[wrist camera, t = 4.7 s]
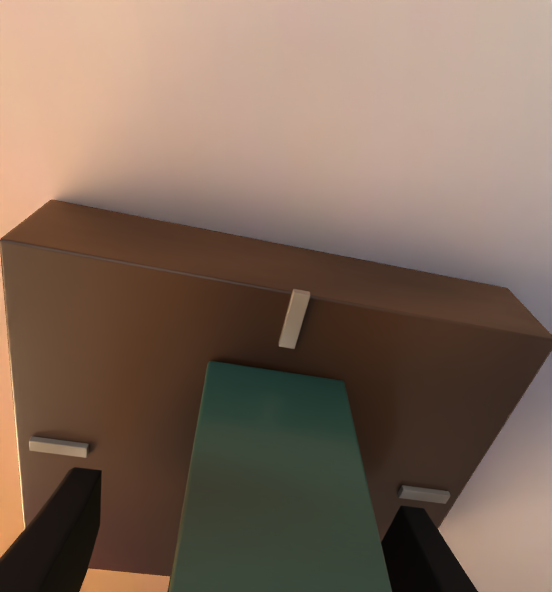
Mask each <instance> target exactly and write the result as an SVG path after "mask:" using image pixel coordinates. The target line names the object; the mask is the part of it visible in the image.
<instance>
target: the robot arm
mask: <svg viewBox="0 0 552 592" xmlns="http://www.w3.org/2000/svg"><path fill="white" fill-rule="evenodd" d="M101 477H102V470H95V469H87V468H78V467H73V468H72V469H70V470H69V471H68V472H67V474H66V475H65V477H64V478H63V480H62V481H61V482H60V484H59V485H58V487H57V488H56V489H55V491H54V492H53V494H52V495H51V496H50V498H49V499H48V500H47V502H46V503H45V504H44V506H43V507H42V508H41V509H40V511H39V512H38V513H37V514H36V516H35V517H34V518H33V520H32V521H31V522H30V523H29V525H28V526H27V527H26V528H25V530H24V531H23V532H22V533H21V534H20V535H19V537H18V538H17V539H16V540H15V541H14V543H13V544H12V545H11V546H10V547H9V549H8V550H7V551H6V552H5V553H4V555H3V556H2V557H1V558H0V592H79V591H80V588H81V586H82V583H83V581H84V578H85V575H86V573H87V569H88V566H89V562H90V559H91V556H92V552H93V549H94V545H95V542H96V538H97V535H98V531H99V528H100V514H101ZM381 545H382V550H383V554H384V559H385V563H386V567H387V572H388V576H389V581H390V585H391V589H392V592H478V591H477V589H476V588H475V586H474V585H473V583H472V582H471V580H470V579H469V577H468V576H467V574H466V573H465V571H464V570H463V568H462V567H461V565H460V564H459V562H458V560H457V559H456V557H455V556H454V554H453V553H452V551H451V550H450V548H449V546H448V545H447V543H446V542H445V540H444V539H443V537H442V535H441V534H440V532H439V531H438V529H437V528H436V526H435V524H434V523H433V521H432V520H431V518H430V517H429V515H428V514H427V512H426V511H425V509H424V508H418V507H409V506H400V508H399V510H398V511H397V513H396V515H395V517H394V519H393V521H392V523H391V525H390V527H389V528H388V530H387V532H386V534H385V536H384V538H383V540H382V542H381Z"/></svg>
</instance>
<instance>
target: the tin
mask: <svg viewBox="0 0 552 592" xmlns="http://www.w3.org/2000/svg"><path fill="white" fill-rule="evenodd" d="M168 592H392V589H391V585H390V581H389V576H388V572H387V567H386V563H385V559H384V554H383V550H382V545H381V541H380V537H379V532H378V528H377V523H376V519H375V514H374V510H373V506H372V501H371V497H370V492H369V488H368V484H367V479H366V475H365V470H364V466H363V462H362V457H361V453H360V448H359V444H358V439H357V435H356V431H355V426H354V422H353V417H352V413H351V409H350V404H349V400H348V395H347V391H346V387H345V382H344V381H342V380H336V379H329V378H322V377H316V376H309V375H302V374H296V373H289V372H283V371H276V370H269V369H263V368H256V367H249V366H243V365H236V364H230V363H223V362H216V361H209V363H208V364H207V369H206V375H205V381H204V387H203V392H202V398H201V404H200V410H199V415H198V421H197V427H196V433H195V438H194V444H193V450H192V455H191V461H190V467H189V473H188V478H187V484H186V490H185V496H184V501H183V507H182V513H181V519H180V524H179V530H178V536H177V542H176V547H175V553H174V559H173V565H172V570H171V576H170V582H169V588H168Z"/></svg>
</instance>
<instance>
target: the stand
mask: <svg viewBox="0 0 552 592" xmlns="http://www.w3.org/2000/svg"><path fill="white" fill-rule="evenodd" d="M0 253H1V265H2V276H3V288H4V300H5V311H6V323H7V335H8V346H9V358H10V369H11V381H12V393H13V404H14V416H15V428H16V439H17V451H18V462H19V474H20V486H21V497H22V509H23V520H24V530H25V528H26V527H27V526H28V525H29V523H30V522H31V521H32V520H33V518H34V517H35V516H36V514H37V513H38V512H39V511H40V509H41V508H42V507H43V506H44V504H45V503H46V502H47V500H48V499H49V498H50V496H51V495H52V494H53V492H54V491H55V489H56V488H57V487H58V485H59V484H60V482H61V481H62V480H63V478H64V477H65V475H66V474H67V472H68V471H69V470H70V469H72V468H73V467H78V468H87V469H95V470H102V477H101V514H100V528H99V531H98V535H97V538H96V542H95V545H94V549H93V552H92V556H91V559H90V562H89V566H88V568H91V569H101V570H111V571H121V572H131V573H141V574H151V575H162V576H171V570H172V565H173V559H174V553H175V547H176V542H177V536H178V530H179V524H180V519H181V513H182V507H183V501H184V496H185V490H186V484H187V478H188V473H189V467H190V461H191V455H192V450H193V444H194V438H195V433H196V427H197V421H198V415H199V410H200V404H201V398H202V392H203V387H204V381H205V375H206V369H207V364H208V363H209V361H216V362H223V363H230V364H236V365H243V366H249V367H256V368H263V369H269V370H276V371H283V372H289V373H296V374H302V375H309V376H316V377H322V378H329V379H336V380H342V381H344V382H345V387H346V391H347V395H348V400H349V404H350V409H351V413H352V417H353V422H354V426H355V431H356V435H357V439H358V444H359V448H360V453H361V457H362V462H363V466H364V470H365V475H366V479H367V484H368V488H369V492H370V497H371V501H372V506H373V510H374V514H375V519H376V523H377V528H378V532H379V537H380V541H381V542H382V540H383V538H384V536H385V534H386V532H387V530H388V528H389V527H390V525H391V523H392V521H393V519H394V517H395V515H396V513H397V511H398V510H399V508H400V506H409V507H418V508H424V509H425V511H426V512H427V514H428V515H429V517H430V518H431V520H432V521H433V523H434V524H435V526H436V528H437V529H438V528H439V526H440V524H441V523H442V521H443V520H444V518H445V517H446V515H447V513H448V512H449V510H450V509H451V507H452V506H453V504H454V502H455V501H456V499H457V498H458V496H459V495H460V493H461V492H462V490H463V488H464V487H465V485H466V484H467V482H468V481H469V479H470V477H471V476H472V474H473V473H474V471H475V470H476V468H477V466H478V465H479V463H480V462H481V460H482V459H483V457H484V456H485V454H486V452H487V451H488V449H489V448H490V446H491V445H492V443H493V441H494V440H495V438H496V437H497V435H498V434H499V432H500V431H501V429H502V427H503V426H504V424H505V423H506V421H507V420H508V418H509V416H510V415H511V413H512V412H513V410H514V409H515V407H516V405H517V404H518V402H519V401H520V399H521V398H522V396H523V395H524V393H525V391H526V390H527V388H528V387H529V385H530V384H531V382H532V380H533V379H534V377H535V376H536V374H537V373H538V371H539V369H540V368H541V366H542V365H543V363H544V362H545V360H546V359H547V357H548V355H549V354H550V352H551V351H552V335H551V334H550V333H549V331H548V330H547V329H546V328H545V327H544V326H543V325H542V324H541V323H540V322H539V321H538V320H537V319H536V318H535V317H534V316H533V315H532V314H531V312H530V311H529V310H528V309H527V308H526V307H525V306H524V305H523V304H522V303H521V302H520V301H519V300H518V299H517V298H516V297H515V296H514V295H513V293H512V292H511V291H510V290H509V289H508V288H504V287H499V286H493V285H488V284H483V283H478V282H473V281H468V280H463V279H457V278H452V277H447V276H442V275H437V274H432V273H427V272H421V271H416V270H411V269H406V268H401V267H396V266H391V265H386V264H380V263H375V262H370V261H365V260H360V259H355V258H350V257H344V256H339V255H334V254H329V253H324V252H319V251H314V250H308V249H303V248H298V247H293V246H288V245H283V244H278V243H272V242H267V241H262V240H257V239H252V238H247V237H242V236H236V235H231V234H226V233H221V232H216V231H211V230H206V229H201V228H195V227H190V226H185V225H180V224H175V223H170V222H165V221H159V220H154V219H149V218H144V217H139V216H134V215H129V214H123V213H118V212H113V211H108V210H103V209H98V208H93V207H87V206H82V205H77V204H72V203H67V202H62V201H57V200H50V201H48V202H47V203H46V204H45V205H43V206H42V207H41V208H39V209H38V210H37V211H36V212H34V213H33V214H32V215H30V216H29V217H28V218H27V219H25V220H24V221H23V222H21V223H20V224H19V225H18V226H16V227H15V228H14V229H12V230H11V231H10V232H9V233H7V234H6V235H5V236H4V237H2V238H1V239H0Z"/></svg>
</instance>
